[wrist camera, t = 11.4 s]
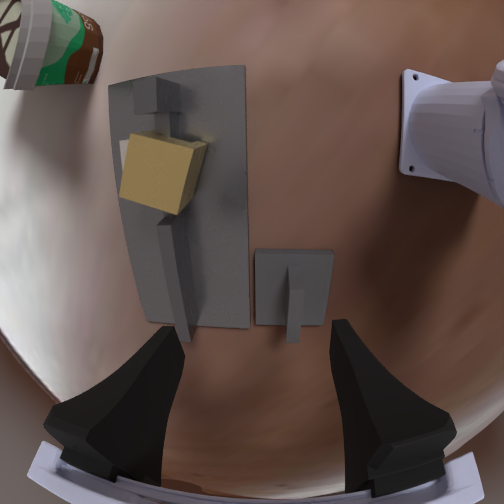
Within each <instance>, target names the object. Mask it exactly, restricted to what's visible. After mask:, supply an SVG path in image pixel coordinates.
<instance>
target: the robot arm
mask: <svg viewBox="0 0 504 504" xmlns="http://www.w3.org/2000/svg"><path fill="white" fill-rule="evenodd" d="M413 75H415V76H416V80H414V79H413ZM410 166H413V169H412V171H409V167H410ZM399 170H400V172H401V173H403V174H405V175H412V176H420V177H427V178H433V179H440V180H446V181H451V182H456V183H458V184H460V185H462V186H464V187H466V188H468V189H470V190H472V191H474V192H476V193H478V194H480V195H481V196H483V197H485V198H487V199H489V200H490V201H492V202H494V203H496V204H497V205H499V206H501V207H502V208H504V60H502V61H501V62H499V63H498V64H497V65H496V68H495V71H494V74H493V75H492V77H491V81H477V82H458V83H452V82H449V81H446V80H443V79H440V78H437V77H434V76H430V75H427V74H424V73H420V72H417V71H413V70H409V69H407V70H404V71H403V72H402V129H401V146H400V158H399ZM329 353H330V362H331V370H332V375H333V379H334V384H335V388H336V392H337V397H338V401H339V406H340V410H341V416H342V424H343V435H344V451H345V494H342V495H334V496H326V497H316V498H304V499H282V500H259V499H237V498H224V497H214V496H206V495H199V494H192V493H186V492H181V491H176V490H171V489H166V488H161V487H160V486H161V469H162V456H163V446H164V439H165V433H166V427H167V422H168V417H169V413H170V410H171V406H172V403H173V400H174V397H175V394H176V391H177V388H178V385H179V382H180V379H181V376H182V371H183V366H184V360H185V354H184V351H183V349H182V346H181V343H180V341H179V338H178V336H177V333H176V330H175V327H174V326H162V327H161V328H160V329H159V330H158V331H157V332H156V333H155V334H154V335H153V336H152V337H151V338H150V339H149V340H148V341H147V342H146V343H145V344H144V345H143V346H142V347H141V348H140V349H139V350H138V351H137V352H136V353H135V354H134V355H133V356H132V357H131V358H130V359H129V360H128V361H127V362H126V363H124V364H123V365H122V366H121V367H120V368H119V369H118V370H116V371H115V372H114V373H113V374H111V375H110V376H109V377H107V378H106V379H105V380H103V381H102V382H100V383H99V384H97V385H95V386H94V387H92V388H91V389H89V390H87V391H85V392H84V393H82V394H80V395H78V396H76V397H74V398H72V399H69V400H67V401H64V402H62V403H59V404H57V405H54V406H53V407H52V409H51V410H50V412H49V414H48V416H47V418H46V420H45V422H44V424H43V425H44V428H45V429H46V430H47V432H48V433H49V434H50V435H52V436H53V437H54V438H55V439H56V440H57V441H58V442H60V443H61V444H62V445H63V446H64V449H63V451H62V450H61V449H59V448H57V447H55V446H53V445H51V444H49V443H47V442H45V441H42V443H41V445H40V447H39V449H38V452H37V454H36V456H35V458H34V460H33V463H32V465H31V467H30V469H29V472H28V474H27V476H28V477H29V478H31V479H32V480H33V481H35V482H37V483H38V484H39V485H41V486H43V487H44V488H46V489H47V490H49V491H51V492H52V493H54V494H56V495H58V496H59V497H61V498H63V499H64V500H66V501H68V502H70V503H72V504H159V503H156V502H152V501H149V500H153V501H157V502H161V503H165V504H474V503H476V502H478V501H479V500H481V499H483V498H484V493H483V488H482V484H481V480H480V477H479V473H478V469H477V466H476V462H475V459H474V456H473V453H472V452H469V453H467V454H465V455H462V456H460V457H458V458H455V459H453V460H451V461H449V462H447V463H445V464H444V465H443V461H442V459H443V458H444V457H445V455H444V451H443V449H444V448H445V447H446V446H447V445H448V444H449V443H450V442H451V441H452V440H453V439H454V438H455V436H456V433H457V431H456V428H455V425H454V423H453V420H452V418H451V417H450V415H449V413H448V412H446V411H444V410H442V409H440V408H438V407H436V406H434V405H432V404H430V403H429V402H427V401H425V400H424V399H422V398H421V397H419V396H418V395H416V394H415V393H414V392H412V391H411V390H410V389H408V388H407V387H406V386H404V385H403V384H402V383H401V382H400V381H398V380H397V379H396V378H395V377H394V376H393V375H392V374H391V373H390V372H389V371H388V370H387V369H386V368H385V367H384V366H383V365H382V364H381V363H380V362H379V361H378V360H377V359H376V358H375V356H374V355H373V354H372V353H371V352H370V351H369V349H368V348H367V347H366V346H365V344H364V343H363V342H362V340H361V339H360V338H359V336H358V335H357V334H356V332H355V331H354V329H353V328H352V326H351V325H350V323H349V322H348V321H347V320H346V319H341V320H332V330H331V341H330V350H329ZM144 498H146V499H149V500H146V499H144Z"/></svg>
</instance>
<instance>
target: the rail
mask: <svg viewBox="0 0 504 504" xmlns="http://www.w3.org/2000/svg"><path fill="white" fill-rule="evenodd" d="M108 94H109V118H110V132H111V144H112V154H113V164H114V172H115V179H116V187H117V193H118V200H119V206H120V212H121V217H122V223H123V228H124V233H125V238H126V243H127V248H128V252H129V257H130V261H131V265H132V270H133V274H134V278H135V282H136V286H137V289H138V293H139V297H140V300H141V304H142V307H143V311H144V314H145V318H146V321H152V322H162V323H172V324H175V325H176V329H177V333H178V337H179V341H181V342H191V341H192V338H193V335H194V332H195V329H196V326H211V327H228V328H250V325H251V310H250V266H249V221H248V173H247V121H246V67H245V65H231V66H217V67H206V68H197V69H189V70H181V71H175V72H168V73H163V74H157V75H152V76H147V77H142V78H137V79H133V80H129V81H124V82H120V83H116V84H113V85H109V86H108ZM148 130H155V133H156V134H160V135H164V136H168V137H172V138H176V139H180V140H183V141H187V142H191V143H193V142H196V141H201V142H204V143H208V145H207V148H206V152H205V155H204V159H203V162H202V166H201V169H200V173H199V176H198V180H197V184H196V187H195V191H194V195H193V198H192V199H191V201H190V202H189V203H188V204H187V205H186V206H185V207H184V208H183V209H182V210H181V211H180V213H179V214H178V215H175V214H172V213H169V212H166V211H162V210H159V209H156V208H153V207H150V206H147V205H143V204H140V203H137V202H134V201H131V200H128V199H124V198H121V197H119V193H120V186H121V180H122V174H123V168H124V162H125V157H126V152H127V147H128V142H129V137H130V133H136V132H142V131H148Z"/></svg>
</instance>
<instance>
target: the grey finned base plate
mask: <svg viewBox="0 0 504 504" xmlns="http://www.w3.org/2000/svg"><path fill="white" fill-rule="evenodd" d="M333 263H334V252H333V250H299V249H255V300H256V325H285V334H286V343H299V337H300V329H301V325H324V319H325V314H326V308H327V302H328V296H329V290H330V283H331V277H332V270H333Z"/></svg>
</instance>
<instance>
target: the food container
mask: <svg viewBox="0 0 504 504" xmlns="http://www.w3.org/2000/svg"><path fill="white" fill-rule="evenodd" d="M102 55H103V35H102V32H101V29H100V26H99V25H98V24H97V23H96V22H95V21H94V20H93V19H91V18H90V17H88V16H86V15H84V14H82V13H80V12H78V11H76V10H74V9H72V8H70V7H68V6H65V5H63V4H61V3H59V2H57V1H54V0H0V76H2V77H3V78H5V79H6V82H5V85H4V88H3V89H14V90H33V89H34V87H35V86H41V85H57V84H93V81H94V79H95V77H96V75H97V73H98V70H99V67H100V63H101V59H102Z"/></svg>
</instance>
